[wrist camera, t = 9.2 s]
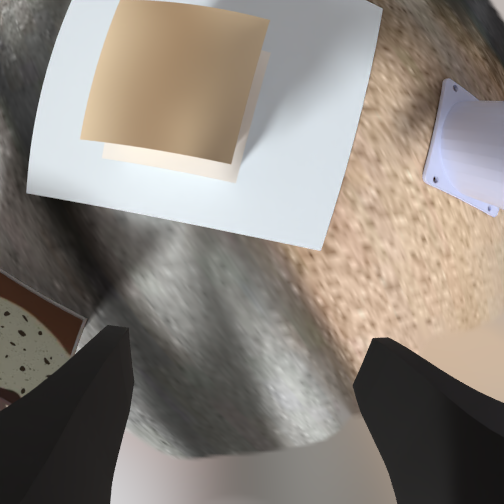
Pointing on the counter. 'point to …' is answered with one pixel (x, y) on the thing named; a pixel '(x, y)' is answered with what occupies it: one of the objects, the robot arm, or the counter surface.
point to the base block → (193, 163)
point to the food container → (32, 338)
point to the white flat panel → (260, 134)
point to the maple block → (174, 78)
